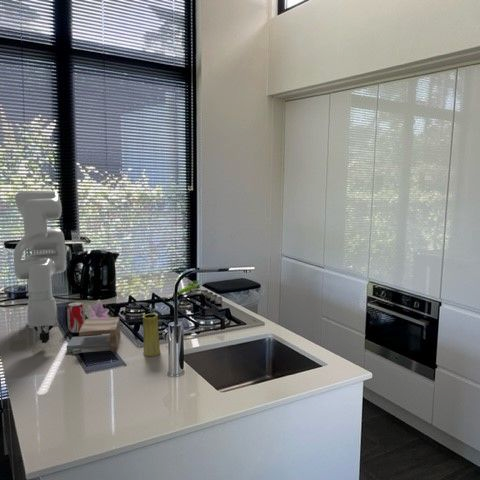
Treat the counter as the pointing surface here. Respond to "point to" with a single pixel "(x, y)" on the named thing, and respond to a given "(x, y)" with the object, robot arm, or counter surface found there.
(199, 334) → the counter surface
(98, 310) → the lily
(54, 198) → the robot arm
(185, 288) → the leek
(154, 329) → the vase
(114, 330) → the shelf
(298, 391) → the counter surface
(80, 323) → the soda can
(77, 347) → the grey book
